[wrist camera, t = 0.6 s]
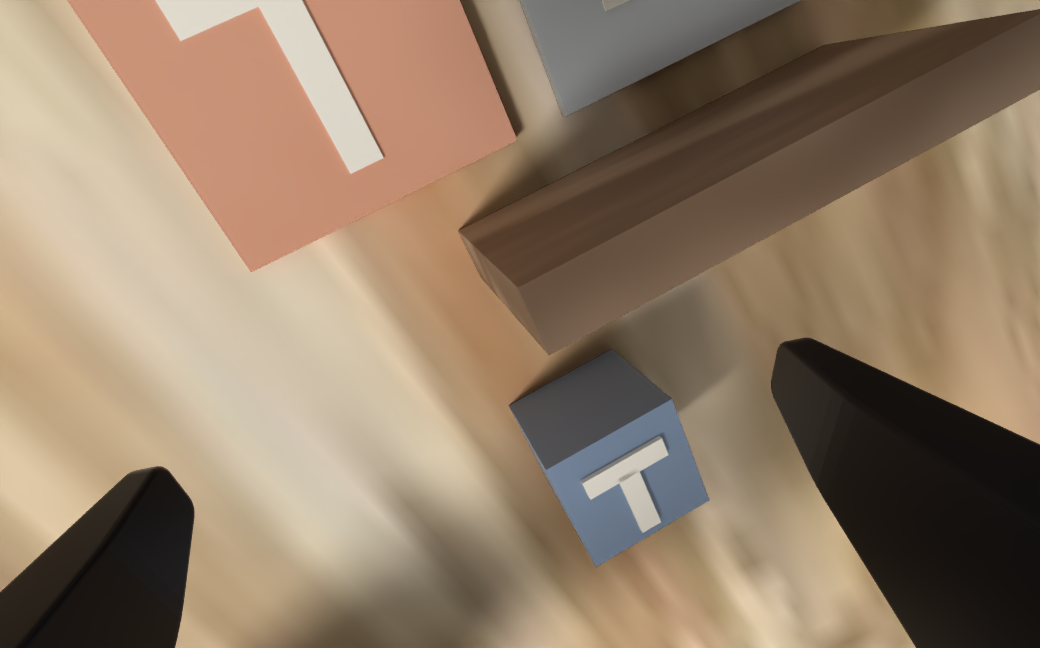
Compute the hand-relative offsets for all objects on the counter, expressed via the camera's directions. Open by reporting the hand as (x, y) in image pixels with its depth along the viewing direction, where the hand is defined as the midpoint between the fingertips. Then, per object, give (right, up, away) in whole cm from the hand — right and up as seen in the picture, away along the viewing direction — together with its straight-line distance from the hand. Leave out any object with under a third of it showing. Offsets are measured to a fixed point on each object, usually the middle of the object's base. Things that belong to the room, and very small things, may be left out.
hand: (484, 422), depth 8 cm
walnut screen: (+6, +8, +14) cm, 17 cm away
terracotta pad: (-6, +10, +9) cm, 15 cm away
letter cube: (+3, -3, +17) cm, 17 cm away
